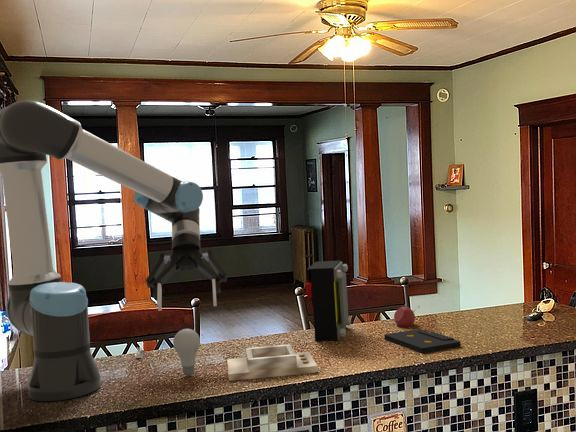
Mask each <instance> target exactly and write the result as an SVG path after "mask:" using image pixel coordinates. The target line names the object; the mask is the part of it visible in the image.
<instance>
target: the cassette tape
mask: <svg viewBox="0 0 576 432" xmlns="http://www.w3.org/2000/svg"><path fill="white" fill-rule="evenodd" d="M383 338H384V340H385V341H387V342H389V343H390V342H391V343H392V344H395V345H398V346H399V347H403V348H406V349H409V350H411V351H414V352H417V353H419V354H421V355H423V354H429V353H434V352H441V351H446V349H447V350H450V348H452V349H457V348H456V347H458V348H461V347H462V344H461V343H462V342H461V341H460V340H457V339H455V338H454V337H451V336H447V335H445V334H442V333H438V332H435V331H432V330H428V329H421V328H416V329H411V330H409V329H408V330H403V331H398V332H397V331H396V332H391V333H385V334H384V337H383ZM440 350H441V351H440Z"/></svg>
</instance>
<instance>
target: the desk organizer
mask: <svg viewBox="0 0 576 432" xmlns="http://www.w3.org/2000/svg"><path fill="white" fill-rule="evenodd" d="M226 361H227V372H228V373H227V374H228V382H232V381H233V382H234V381H241V380H243V381H244V380H251V379H253V380H254V379H261V378H262V379H263V378H273V377H275V378H276V377H283V376H285V377H286V376H294V375H295V376H296V375H305V374H316V373H315V372H318V373H319V371H318V370H319V367H318V365H317V363H316V361H315V359H314V357H313V356H312V355H311V353H310V351H302V352H295V350H294V348H293V347H292V344H279V345H267V346H257V347H254V346H253V347H246V348H245V357H237V358H234V357H233V358H227V360H226Z"/></svg>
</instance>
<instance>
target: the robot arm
mask: <svg viewBox="0 0 576 432" xmlns="http://www.w3.org/2000/svg"><path fill="white" fill-rule="evenodd" d="M47 156H50V157H51V158H52V157H53V158H55V159H57V160H59V161H62V160H66V159H67V160H69V161H72V162H73V163H75V164H78V165H79V166H81V167H84V168H86V169H87V170H90V171H92V172H94V173H96V174H98V175H101V176H103V177H104V178H107V179H109V180H111V181H113V182H115V183H116V184H119V185H121V186H123V187H125V188H128V189H129V190H132V191H133V192H134V194H133V201H134V203H135V204H137V205H138V206H140V207H141V208H142V209H143V210H147V211H148V212H150V213H152V214H155V215H156V216H159V217H161V218H162V219H164V220H166V221H168V222H170V223H171V254H170V255H165V253H163V252H162V253H160V254H159V259H158V261H157V262H156V263H155V265H154V267H153V268H152V270H151V271H150V273H149V274H148V276H147V278H146V279H145V282H146V287H147V288H149V289H150V288H152V295H153V299H156V302H157V303H156V306H157V310H158V312H160V311H162V308H163V307H162V306H163V305H162V301H163V298H162V297H163V296H162V295H163V293H162V291H163V289H162V285H164V284H165V283H166V282H167V281H168V279H170V278H171V277H172V276H173V275H174V274H176V273H177V272H178V271H186V270H190V271H192V270H194V269H195V270H197V271H198V272H200V273H202V275H204V276H205V277H207V278H208V279H209V280H210V281H211V283H212V301H213V307H217V306H218V305H217V304H218V303H217V294H218V295H219V294H221V283H227V281H228V278H227V277H228V276H227V273H226V271H225V270H224V269H223V268H222V266H221V265H220V263H219V262H218V261H217V259H216V258H215V256H214V254H213V250H211V249H209V250H207V252H204V253H203V252H202V251H201V228H200V207H201V205H202V203H203V199H204V195H203V189H202V188H201V186H199V184H197V183H195V182H192V181H182V180H180V179H178V178H176V177H174V176H172V175H170V174H169V173H166V172H165V171H162V170H161V169H159V168H156V167H155V166H154V165H151V164H150V163H147V162H145V161H144V160H142V159H140V158H138V157H136V156H134V155H132V154H131V153H129V152H126V151H125V150H122V149H121V148H119V147H117V146H115V145H113V144H112V143H109V142H108V141H106V140H104V139H102V138H100V137H98V136H96V135H94V134H93V133H91V132H89V131H87V130H85V129H83V127H82V124H81V123H80V121H78V120H76V119H74V118H72V117H70V116H69V115H67V114H64V113H63V112H60V111H59V110H57V109H55V108H53V107H51V106H49V105H46V104H45V103H43V102H42V103H41V102H39V101H35V100H30V99H29V100H27V99H26V100H20V101H19V100H18V101H16V102H13V103H10V105H7V106H6V107H2V108H0V174H1V179H2V188H3V195H4V203H5V205H4V206H5V211H6V220H7V227H8V235H9V242H10V251H11V258H12V259H11V260H12V266H13V267H12V268H13V276H12V277H11V279H10V280H9V281H8V283H7V284H8V285H7V286H8V292H9V296H8V299H7V301H6V305H5V312H6V317H7V320H8V321H9V323H10V324H11V325H12V326H13V327H14V328H15V329H16V330H17V331H19V332H21V333H22V334H24V335H28V336H32V342H33V355H34V356H33V357H34V359H33V360H34V362H33V365H32V369H31V373H30V377H29V380H28V384H27V392H28V393H27V395H28V398H29V399H31V400H33V401H36V402H38V401H39V402H54V401H55V402H56V401H64V400H70V399H75V398H80V397H83V396H86V395H89V394H91V393H93V392H95V391H97V390H98V389H100V388H101V386H102V382H101V381H102V380H101V374H100V371H99V369H98V366H97V364H96V361H95V359H94V357H93V354H92V351H91V340H90V323H89V307H88V306H89V299H88V296H87V291H86V288H85V287H84V286H83V285H82V284H79V283H76V282H65V281H62V277H61V276H62V275H61V274H60V273H59V272H57V271H56V270H55V269H54V264H53V257H52V249H51V242H50V232H49V224H48V215H47V208H46V207H47V206H46V200H45V199H46V198H45V191H44V184H43V183H44V182H43V175H42V169H43V168H44V167H45V166H46V164H47V163H48V159H47ZM203 259H205V261H207V263H209V265H210V266H211V268H212V269H213V270H212V269H211V268H210V267H209V266H208V265H206V264H205V263H204V262H203ZM169 261H170V263H169V264H168V262H169ZM167 264H168V266H167V267H166V268H165V265H167ZM164 268H165V269H164Z"/></svg>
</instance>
